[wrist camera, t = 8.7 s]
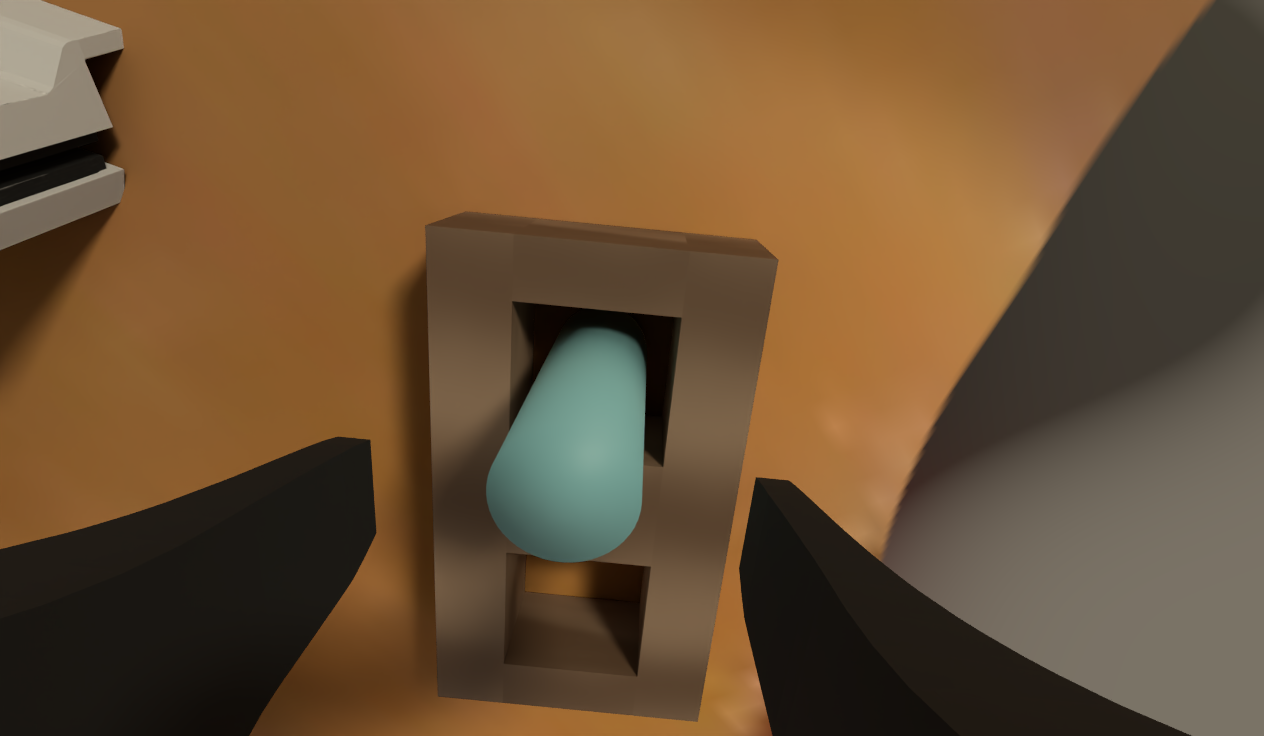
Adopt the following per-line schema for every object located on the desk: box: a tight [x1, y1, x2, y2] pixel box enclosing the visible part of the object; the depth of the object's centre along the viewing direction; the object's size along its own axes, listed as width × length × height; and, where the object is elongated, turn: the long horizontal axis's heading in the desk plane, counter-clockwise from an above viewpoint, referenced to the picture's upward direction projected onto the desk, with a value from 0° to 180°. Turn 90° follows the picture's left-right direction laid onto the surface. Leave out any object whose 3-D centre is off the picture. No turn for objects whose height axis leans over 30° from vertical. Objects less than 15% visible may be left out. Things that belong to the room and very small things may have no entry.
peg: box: [486, 308, 647, 562], centre depth 16 cm, size 3×3×9 cm
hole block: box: [425, 212, 778, 722], centre depth 20 cm, size 16×9×4 cm, turn 175°
